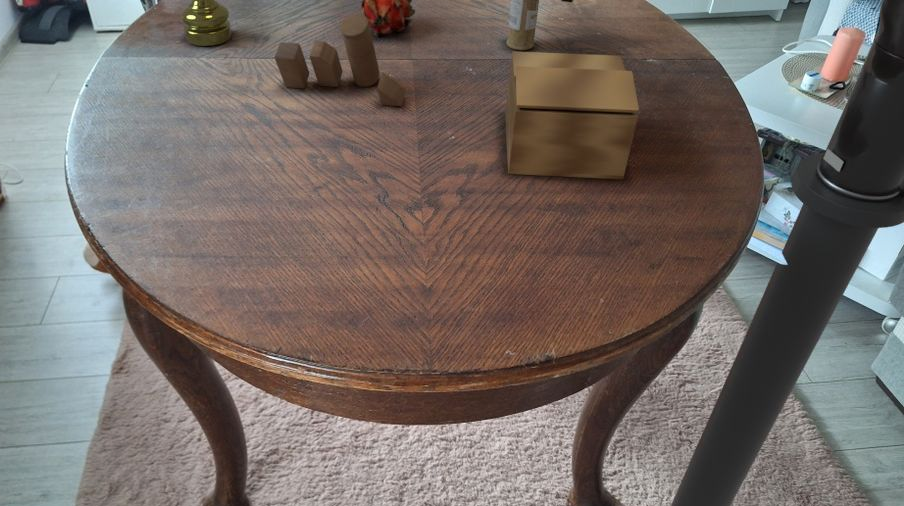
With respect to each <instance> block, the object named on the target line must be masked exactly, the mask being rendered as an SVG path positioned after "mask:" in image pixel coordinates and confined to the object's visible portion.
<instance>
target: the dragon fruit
mask: <svg viewBox="0 0 904 506" xmlns="http://www.w3.org/2000/svg"><path fill="white" fill-rule="evenodd" d="M412 1H413V0H362V1H361V4H360V10H361V12H362V14H363V15H364V16H365V17H366V18H367V19H368V22H369V27H370V29H371V30H372V32H373V34H374V35H375V36H376V37H380V36H382V35H383V36H384V35H385V34H389V35H391V34H392V33H393V32H394V31H395V32H396V33H400V32H402V31H403V30H404V29H405V28H406V27H409V26H410V24H411V23H412V21H413V19H412V17H413V16H414V15H415V13H416V10H415V9H414V8H413V7H414V6H413V5H412V4H411V3H412Z"/></svg>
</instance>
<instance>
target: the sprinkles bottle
mask: <svg viewBox="0 0 904 506" xmlns="http://www.w3.org/2000/svg"><path fill="white" fill-rule="evenodd" d="M539 4H540V0H510V8H509V18H508V33H507V34H508V35H507V40H506V46H507V47H508V48H510V49H512V50H515V51H528V50H531V49H533V47H534V46H535V36H536V35H535V34H536V27H537V23H538V12H539Z"/></svg>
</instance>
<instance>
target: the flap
mask: <svg viewBox="0 0 904 506" xmlns="http://www.w3.org/2000/svg"><path fill="white" fill-rule="evenodd" d="M635 85H636V84H635V78H634V73H633V70H625V71H620V70H596V69H571V68H547V67H523V66H516V107H517V108H539V109H562V110H584V111H607V112H629V113H637V114H638V113H639V112H640V107H639V102H638V101H639V100H638V96H637V90H636V86H635Z"/></svg>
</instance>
